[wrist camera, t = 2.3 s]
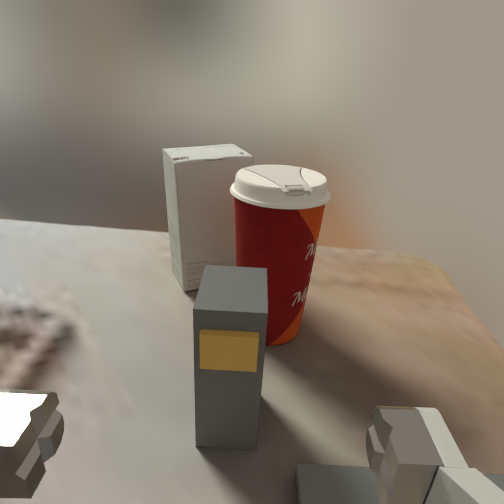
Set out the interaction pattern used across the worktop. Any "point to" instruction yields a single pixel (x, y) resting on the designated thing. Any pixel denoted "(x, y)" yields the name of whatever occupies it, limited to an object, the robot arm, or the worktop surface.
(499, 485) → the slate board
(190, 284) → the skincare box
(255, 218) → the coffee cup
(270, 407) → the worktop surface
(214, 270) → the plug block
